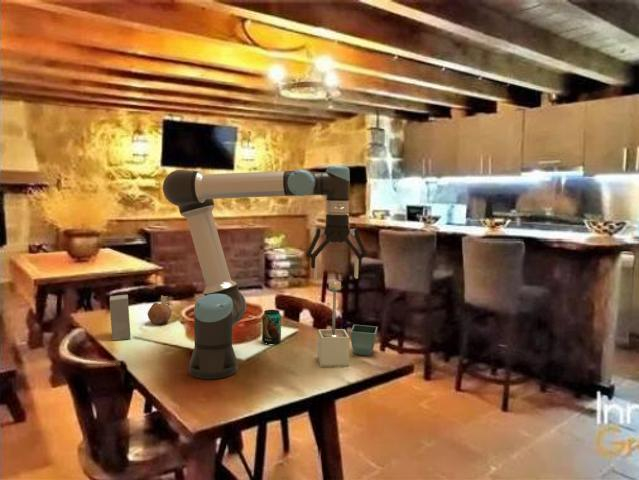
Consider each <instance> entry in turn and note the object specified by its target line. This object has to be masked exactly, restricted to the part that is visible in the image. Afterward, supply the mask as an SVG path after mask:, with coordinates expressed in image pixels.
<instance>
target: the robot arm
mask: <svg viewBox="0 0 639 480" xmlns="http://www.w3.org/2000/svg"><path fill="white" fill-rule="evenodd" d="M350 173H351V172H350V168H349V166H348V167H347V166H346V165H345V166H344V165H329V166H327V167H326V169H325V171H324V172H323V171H321V172H320V171H309V170H305V169H296V170H276V171H275V170H274V171H252V172H226V173H210V174H209V173H206V174H205V173H204V172H202V171H201V170H199V171H198V170H185V169H176V170H174V171H171V172H169V173H168V174H167V175H166V176H165V178H164V180H163V183H162V191H163V192H162V193H163V195H164V197H165V199H166V200H167V201H168V202H169V203H170V204H172V205H174V206H177V207H178V210H179V214H180V216H182V217H183V218H185V219H186V221H187V224H188V229H189V232H190V235H191V238H192V242H193V245H194V249H195V252H196V255H197V259H198V263H199V267H200V269H201V272H202V273H201V274H202V277H203V280H204V283H205V284H204V285H205V288H204V291H203V292H202V294H203V295H202V296H200V297H199V298H196V300H195V302H194V309H193V315H194V316H193V317H194V318H193V319H194V326H193V327H194V328H193V330H194V331H193V332H194V336H193V337H194V348H193V351H192V354H191V357H190V360H189V363H188V374H189V375H190V376H191V377H193V378H196V379H202V380H218V379H224V378H228V377H230V376H233V375H234V374H236V373H237V371H238V369H239V368H238V367H239V365H238V364H239V363H238V359H237V356H236V353H235V349H234V347H233V327H235V325H236V324H237V323H239V322H240V321H241V320H242V319H243V317H244V315H245V312H246V310H247V301H246V298H245V296H244V295H243V293H242V292H241V291H240V290H239V285H238V283H237V282H236V281H234V280H232V279H231V275H230V271H229V267H228V263H227V261H226V257H225V253H224V250H223V246H222V243H221V240H220V236H219V233H218V228H217V225H216V223H215V222H216V221H215V219H214V215H213V211H214V208H215V207H216V206H215V202H214V200H217V199H218V200H219V199H220V200H221V199H241V198H243V199H245V198H264V197H265V198H267V197H268V198H269V197H272V198H273V197H297V196H298V197H304V196H325V198H326V199H325V201H326V202H325V204H326V205H325V212H326V215H325V228H319V227H318V228H317V227H316V229H315V234H314V237H313V239H312V240H311V242H310V245H309V246H308V248H307V250H306V252H305V256H306V257H307V258H309V259H310V267H311V269H313V278H314V279H315V280H317V279H318V265H319V264H318V263H319V262H318V261H319V260H318V258H317V256H318V255H320V253H321V252H322V251H323V249H324V248H326V246H327V245H328V244H329V243H330V242H331V243H345V244H346V245H347V246H348V248H349V249H350V250H351V251H352V253H353V254H354V255H355V258H354V269H353V270H354V271H353V272H354V274H353V275H354V276H353V277H354V278H355V280H356V279H359V269H361V268H362V263H363V262H362V261H363V260H362V259H363V258H367V257H368V253H367V250H366V249H365V246H364V244H363V242H362V240H361V238H360V236H359V229H358V228H353V229H352V228H351V229H350V226H349V225H350V223H349V222H350V218H349V217H350V216H349V213H350V189H351V188H350V187H351V186H350V185H351V184H350V183H351V182H350V181H351V179H350V178H351V177H350V176H351V175H350ZM323 234H324V235H325V236H326V237H325V238H324V240H323V241H322V242H321V243H320V244H319V245H318V246H317V247H316V245H317V243H318V240H319V238H320V237H321V236H322V235H323ZM350 234H351V236H353V238H354V240H355V242H356V244H357V247H358V249H359V250H360V252H359V251H358V249H357V248H356V247H355V246H354V244H353V243H352V242H351V240H350V239H349V238H348V236H349V235H350ZM315 247H316V249H315V250H314V248H315Z"/></svg>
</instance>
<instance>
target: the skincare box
mask: <svg viewBox="0 0 639 480" xmlns="http://www.w3.org/2000/svg"><path fill="white" fill-rule="evenodd" d="M109 311H110V325H111V337H112V338H111V339H112V341H121V340H122V341H123V340H124V341H125V340H131V322H130V311H129V295H128V294H119V295H112V296H111V295H110V296H109Z"/></svg>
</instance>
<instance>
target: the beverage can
mask: <svg viewBox="0 0 639 480" xmlns="http://www.w3.org/2000/svg"><path fill="white" fill-rule="evenodd" d="M261 319H262V321H261V323H262V324H261V325H262V327H261V329H262V331H261V342H262V343H263V342H264V343H267V344H276V345H278V344H279V343H280V342H281V341H282V314H281V313H280V310H278V309H267V310H264V311H263V315H262V317H261ZM264 343H263V344H264ZM267 344H266V345H267Z"/></svg>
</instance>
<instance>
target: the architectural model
mask: <svg viewBox="0 0 639 480" xmlns="http://www.w3.org/2000/svg"><path fill="white" fill-rule="evenodd" d="M160 297H161V299H160V301H161V303H160V304H166V305H168V306H169V307H174V306H175V304H173V303H171V302H170V301H169V300H168V297H169V296H168V295H167V296H166V295H165V296H164V295H161V296H160Z"/></svg>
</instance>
